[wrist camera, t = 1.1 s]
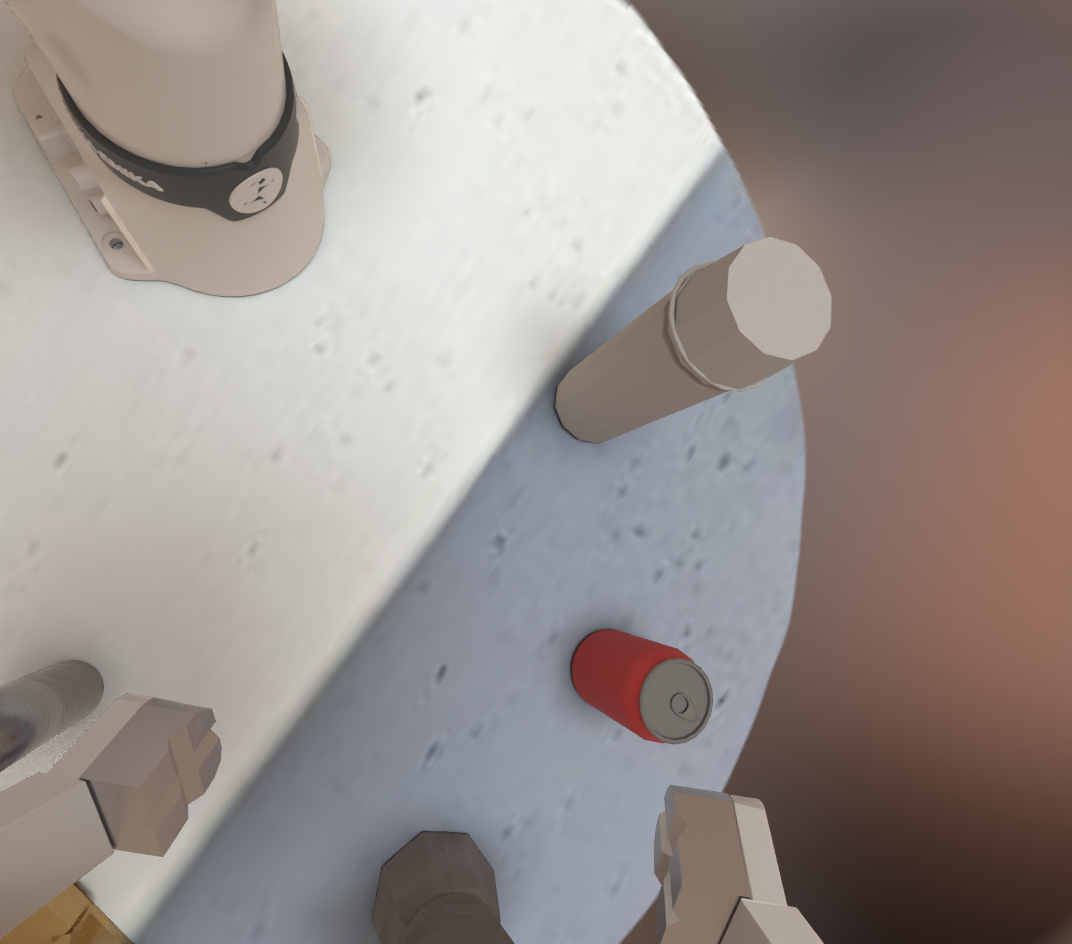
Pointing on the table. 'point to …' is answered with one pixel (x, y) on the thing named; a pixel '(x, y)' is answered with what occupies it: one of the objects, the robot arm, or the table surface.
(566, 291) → the table surface
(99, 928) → the octagonal peg holder board
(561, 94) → the table surface
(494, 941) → the coffeepot
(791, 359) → the water bottle
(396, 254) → the table surface
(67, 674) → the pin
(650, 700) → the beer can
